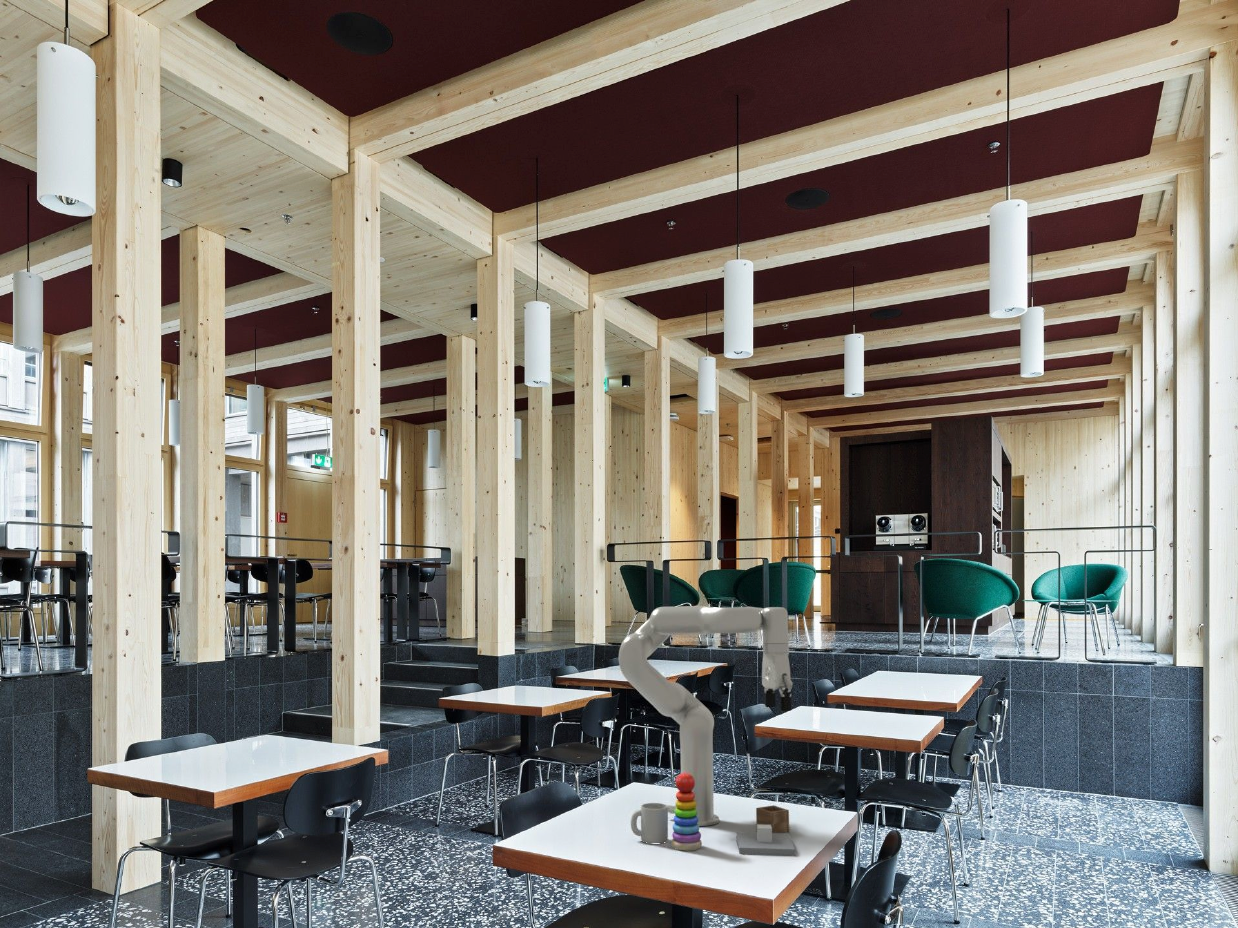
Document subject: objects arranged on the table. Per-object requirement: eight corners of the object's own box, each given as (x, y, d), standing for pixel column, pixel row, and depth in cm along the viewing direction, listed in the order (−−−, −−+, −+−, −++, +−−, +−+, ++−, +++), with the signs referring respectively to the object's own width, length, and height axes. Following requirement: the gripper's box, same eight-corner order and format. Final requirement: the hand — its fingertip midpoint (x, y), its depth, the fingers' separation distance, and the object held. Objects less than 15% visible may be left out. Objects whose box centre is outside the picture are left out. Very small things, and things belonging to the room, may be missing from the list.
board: (739, 853, 220) (739, 832, 221) (736, 837, 235) (736, 818, 236) (794, 855, 219) (794, 834, 220) (788, 839, 234) (788, 819, 234)
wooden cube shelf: (771, 835, 237) (770, 812, 238) (756, 830, 243) (756, 807, 243) (789, 832, 240) (788, 809, 241) (774, 827, 246) (773, 805, 247)
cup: (668, 844, 228) (668, 809, 229) (630, 844, 228) (631, 808, 229) (667, 837, 235) (666, 802, 236) (630, 836, 235) (630, 802, 236)
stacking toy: (671, 842, 230) (671, 769, 233) (701, 843, 229) (701, 769, 232) (670, 850, 222) (670, 775, 225) (701, 851, 221) (701, 775, 224)
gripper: (751, 648, 263) (753, 705, 260) (777, 651, 247) (779, 712, 244) (774, 647, 265) (776, 704, 262) (801, 650, 249) (803, 711, 246)
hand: (777, 708), depth 253 cm, fingers open, 9 cm apart
